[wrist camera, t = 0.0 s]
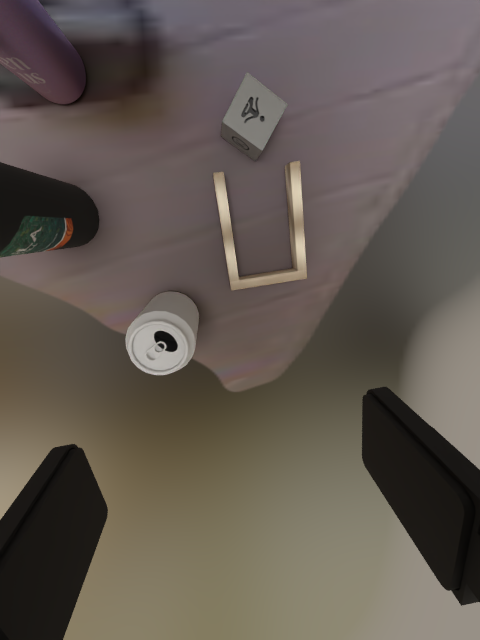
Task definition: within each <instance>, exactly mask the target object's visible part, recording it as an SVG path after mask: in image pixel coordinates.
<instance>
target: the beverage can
mask: <svg viewBox="0 0 480 640" xmlns="http://www.w3.org/2000/svg"><path fill="white" fill-rule="evenodd" d="M0 63H1V64H2V65H3V66H4V67H6V68H7V69H8V70H10V71H11V72H12V73H13V74H15V75H16V76H17V77H19V78H20V79H21V80H22V81H24V82H25V83H26V84H28V85H29V86H30V87H31V88H33V89H34V90H35V91H36V92H38V93H39V94H40V95H42V96H43V97H44V98H46V99H47V100H49V101H51V102H54V103H57V104H69V103H72V102H74V101H75V100H77V99H78V98H79V97H80V96H81V94H82V92H83V90H84V88H85V83H86V72H85V67H84V64H83V61H82V59H81V57H80V55H79V54H78V52H77V51H76V49H75V48H74V47H73V46H72V44H71V43H70V42H69V40H68V39H67V38H66V36H65V35H64V34H63V32H62V31H61V30H60V28H59V27H58V26H57V25H56V23H55V22H54V21H53V19H52V18H51V17H50V15H49V14H48V13H47V11H46V10H45V9H44V8H43V6H42V5H41V4H40V2H39V1H38V0H0Z"/></svg>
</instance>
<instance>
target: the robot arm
mask: <svg viewBox="0 0 480 640" xmlns="http://www.w3.org/2000/svg"><path fill="white" fill-rule="evenodd" d="M362 411H363V412H362V415H363V417H362V459H363V462H364V465H365V467H366V469H367V470H368V472H369V473H370V475H371V477H372V478H373V480H374V481H375V482H376V484H377V486H378V487H379V489H380V491H381V492H382V494H383V495H384V497H385V498H386V500H387V501H388V503H389V505H390V506H391V507H392V509H393V511H394V512H395V514H396V515H397V517H398V518H399V520H400V522H401V523H402V525H403V526H404V528H405V529H406V531H407V533H408V534H409V536H410V537H411V538H412V540H413V542H414V543H415V545H416V547H417V548H418V550H419V551H420V553H421V554H422V556H423V557H424V559H425V560H426V562H427V564H428V565H429V567H430V568H431V570H432V571H433V573H434V574H435V576H436V578H437V579H438V581H439V582H440V583H441V585H442V586H443V587H444V588H445V589H446V590H451V591H452V592H453V594H454V595H455V597H456V598H457V600H458V601H459V603H460V604H461V605H466V604H471V603H474V602H480V470H479V469H478V468H477V467H476V466H475V465H474V464H473V463H471V462H470V461H469V460H468V459H467V458H466V457H465V456H464V455H463V454H461V453H460V452H459V451H458V450H457V449H456V448H455V447H454V446H453V445H451V444H450V443H449V442H448V441H447V440H446V439H445V438H444V437H443V436H441V435H440V434H439V433H438V432H437V431H436V430H435V429H434V428H433V427H431V426H430V425H428V424H427V423H426V422H425V421H424V420H423V419H422V418H421V417H420V416H419V415H417V414H416V413H415V412H414V411H413V410H412V409H411V408H410V407H409V406H408V405H406V404H405V403H404V402H403V401H402V400H401V399H400V398H398V396H396V395H395V394H394V393H393V392H392V391H391V390H390V389H388V388H387V387H381V388H375V389H370V390H368V391H367V395H364V396H363V410H362ZM107 511H108V509H107V505H106V502H105V500H104V498H103V496H102V493H101V491H100V489H99V486H98V484H97V481H96V479H95V477H94V474H93V472H92V470H91V467H90V465H89V463H88V460H87V458H86V456H85V453H84V451H83V449H82V448H78V447H77V446H76V445H75V444H71V445H65V446H60V447H55V448H53V449H52V450H51V451H50V453H49V454H48V455H47V456H46V458H45V459H44V461H43V462H42V464H41V465H40V466H39V467H38V469H37V470H36V472H35V473H34V474H33V476H32V477H31V478H30V480H29V481H28V483H27V484H26V485H25V487H24V488H23V490H22V491H21V492H20V494H19V495H18V496H17V498H16V499H15V501H14V502H13V503H12V505H11V506H10V508H9V509H8V510H7V512H6V513H5V515H4V516H3V517H2V519H1V520H0V640H63V638H64V635H65V632H66V629H67V627H68V624H69V621H70V619H71V616H72V613H73V610H74V608H75V605H76V602H77V599H78V596H79V594H80V591H81V588H82V585H83V582H84V580H85V577H86V574H87V572H88V569H89V566H90V563H91V560H92V558H93V555H94V552H95V549H96V547H97V544H98V541H99V538H100V535H101V533H102V530H103V527H104V525H105V522H106V519H107V513H108V512H107Z"/></svg>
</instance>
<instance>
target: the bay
mask: <svg viewBox="0 0 480 640" xmlns="http://www.w3.org/2000/svg"><path fill="white" fill-rule="evenodd" d="M285 178H286V191H287V204H288V217H289V230H290V243H291V256H292V269H286V270H279V271H273V272H267V273H261V274H254V275H248V276H242V277H239V276H238V269H237V262H236V255H235V248H234V242H233V235H232V228H231V221H230V214H229V207H228V200H227V193H226V186H225V179H224V172H218V173H213V179H214V185H215V192H216V198H217V204H218V211H219V217H220V224H221V230H222V236H223V243H224V249H225V256H226V262H227V268H228V275H229V281H230V287H231V290H238V289H244V288H251V287H257V286H263V285H269V284H275V283H281V282H288V281H294V280H300V279H306V278H307V272H306V255H305V239H304V222H303V206H302V189H301V173H300V161H296V162H290V163H289V164H287V165H286V166H285Z"/></svg>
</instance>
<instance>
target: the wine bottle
mask: <svg viewBox="0 0 480 640" xmlns="http://www.w3.org/2000/svg"><path fill="white" fill-rule="evenodd" d="M98 225H99V216H98V211H97V208H96V206H95V204H94V202H93V200H92V199H91V198H90V197H89V196H88V195H87V193H86V192H84V191H83V190H81V189H80V188H78V187H77V186H75V185H72V184H68V183H65V182H62V181H59V180H56V179H52V178H49V177H46V176H43V175H39V174H36V173H33V172H30V171H27V170H23V169H20V168H17V167H14V166H10V165H7V164H4V163H1V162H0V257H6V256H13V255H20V254H28V253H35V252H42V251H49V250H57V249H64V248H71V247H78V246H81V245H84V244H86V243H88V242H89V241H90V240H91V239H93V238H94V236H95V234H96V232H97V230H98Z"/></svg>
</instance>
